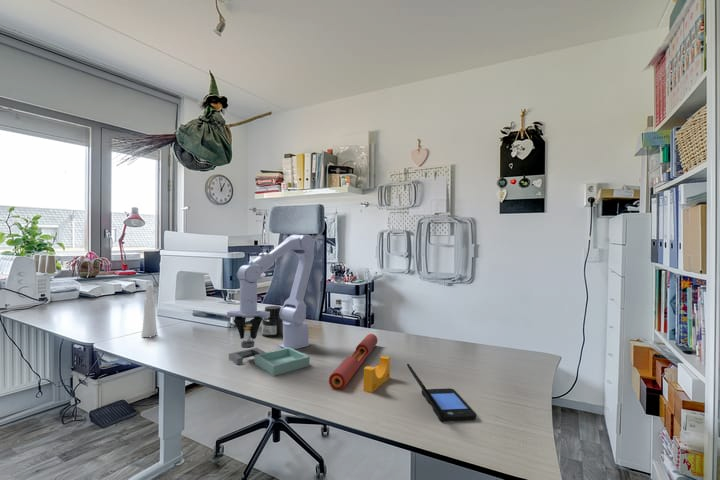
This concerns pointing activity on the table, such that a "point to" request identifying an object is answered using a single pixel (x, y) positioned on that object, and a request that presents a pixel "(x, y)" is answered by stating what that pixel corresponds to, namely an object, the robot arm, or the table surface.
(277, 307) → the ink bottle
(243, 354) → the bracket
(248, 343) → the glass jar
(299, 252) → the robot arm
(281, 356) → the tray
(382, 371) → the pipe clamp
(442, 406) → the black handheld device
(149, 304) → the cosmetic bottle
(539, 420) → the table surface
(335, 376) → the blood vessel
